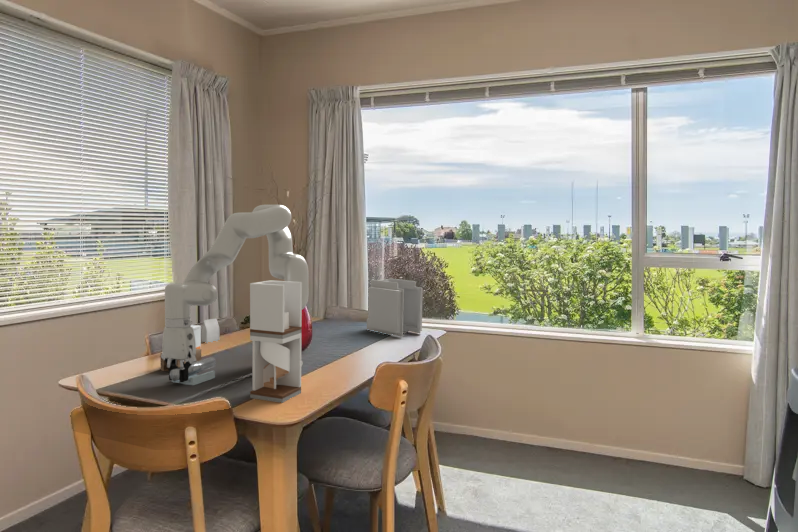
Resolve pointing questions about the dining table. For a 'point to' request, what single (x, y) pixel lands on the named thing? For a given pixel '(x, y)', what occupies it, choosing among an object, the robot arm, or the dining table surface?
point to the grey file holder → (395, 306)
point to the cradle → (198, 378)
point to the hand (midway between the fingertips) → (178, 379)
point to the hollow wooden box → (164, 364)
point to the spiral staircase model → (276, 339)
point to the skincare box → (197, 335)
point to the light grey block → (210, 331)
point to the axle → (194, 368)
